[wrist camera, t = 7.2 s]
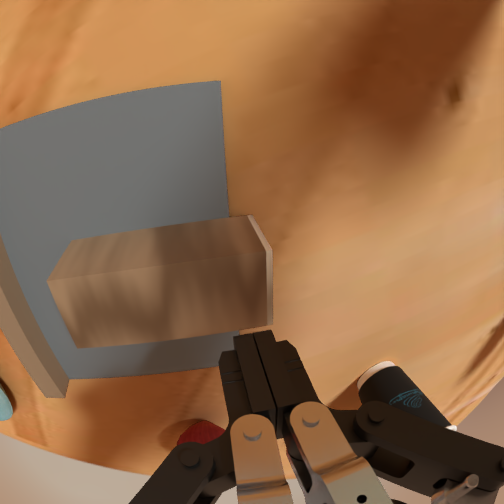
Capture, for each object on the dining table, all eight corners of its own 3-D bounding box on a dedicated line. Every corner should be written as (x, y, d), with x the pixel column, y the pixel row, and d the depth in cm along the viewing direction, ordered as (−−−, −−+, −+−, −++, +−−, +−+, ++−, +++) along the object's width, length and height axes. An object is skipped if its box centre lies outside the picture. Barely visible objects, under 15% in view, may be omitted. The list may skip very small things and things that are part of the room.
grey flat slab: (-39, 145, 12) (-61, 154, 10) (219, 81, 15) (225, 77, 12) (51, 376, 21) (45, 397, 19) (240, 358, 24) (247, 382, 22)
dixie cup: (398, 338, 28) (457, 418, 18) (410, 369, 32) (457, 436, 22) (333, 382, 29) (378, 471, 19) (356, 406, 33) (393, 478, 23)
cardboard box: (252, 214, 18) (71, 240, 16) (272, 250, 14) (46, 281, 12) (254, 279, 20) (91, 301, 19) (272, 324, 16) (77, 348, 15)
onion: (175, 435, 28) (182, 500, 21) (172, 407, 26) (179, 482, 19) (229, 433, 30) (243, 496, 23) (234, 405, 27) (251, 477, 20)
